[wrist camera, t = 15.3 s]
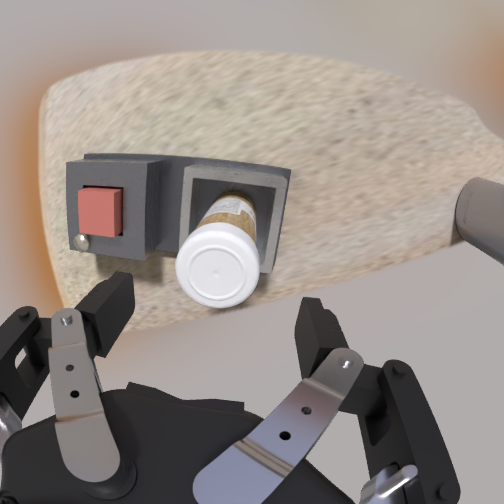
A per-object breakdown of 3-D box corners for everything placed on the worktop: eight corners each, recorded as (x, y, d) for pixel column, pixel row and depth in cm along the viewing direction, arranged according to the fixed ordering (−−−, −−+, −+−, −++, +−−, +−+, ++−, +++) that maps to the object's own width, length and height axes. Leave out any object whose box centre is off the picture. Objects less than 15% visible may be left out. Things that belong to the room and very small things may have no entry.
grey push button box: (289, 169, 26) (299, 174, 21) (273, 261, 30) (278, 286, 24) (89, 153, 25) (59, 157, 19) (89, 237, 28) (64, 255, 23)
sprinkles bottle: (257, 234, 27) (261, 310, 15) (212, 236, 27) (180, 311, 15) (255, 188, 26) (258, 230, 13) (208, 191, 26) (167, 234, 13)
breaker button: (136, 183, 25) (114, 192, 20) (135, 221, 26) (114, 237, 22) (103, 182, 25) (78, 190, 20) (103, 218, 26) (79, 232, 22)
